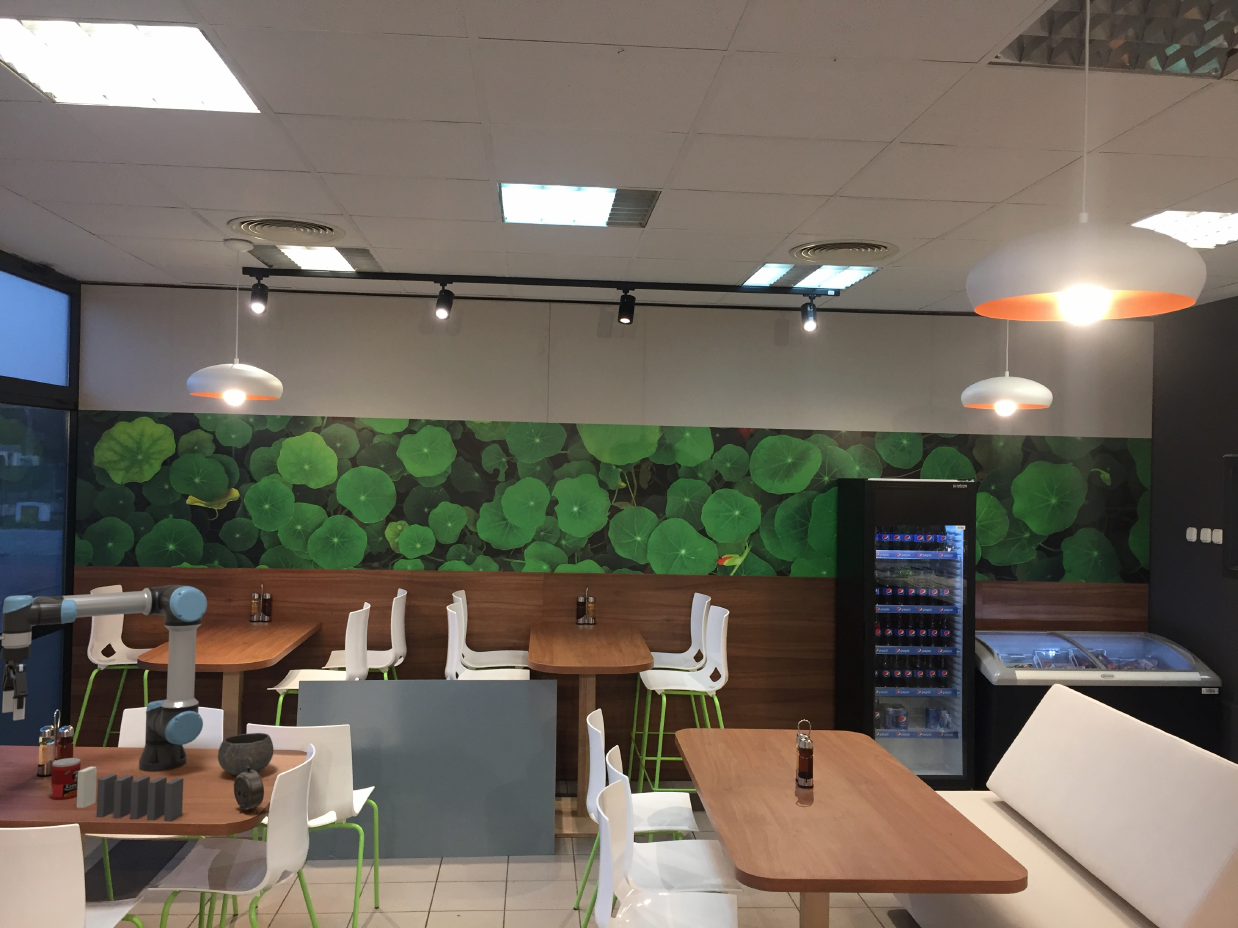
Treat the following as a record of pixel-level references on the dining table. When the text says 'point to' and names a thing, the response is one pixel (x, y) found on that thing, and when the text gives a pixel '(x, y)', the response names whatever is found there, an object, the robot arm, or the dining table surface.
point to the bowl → (245, 752)
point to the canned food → (65, 778)
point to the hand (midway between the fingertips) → (13, 715)
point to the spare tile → (86, 787)
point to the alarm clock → (249, 789)
